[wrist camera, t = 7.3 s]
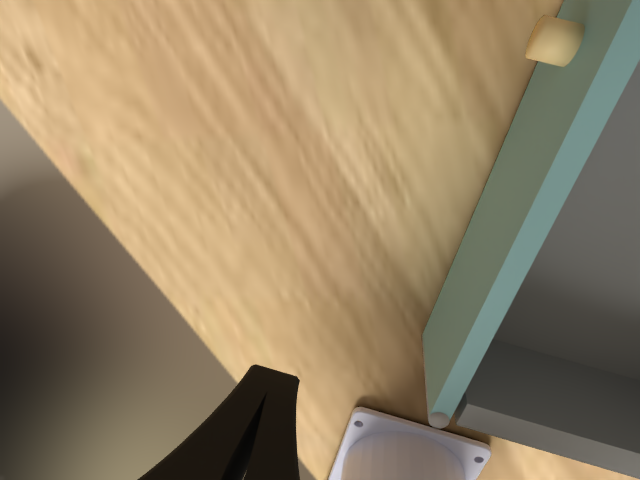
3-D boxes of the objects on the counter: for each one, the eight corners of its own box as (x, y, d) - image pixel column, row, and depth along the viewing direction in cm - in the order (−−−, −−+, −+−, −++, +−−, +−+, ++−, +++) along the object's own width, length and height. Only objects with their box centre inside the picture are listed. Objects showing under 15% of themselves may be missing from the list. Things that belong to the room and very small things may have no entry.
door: (434, 345, 21) (445, 430, 17) (398, 334, 21) (398, 416, 17) (586, 6, 14) (677, -10, 10) (531, -7, 14) (594, -29, 10)
